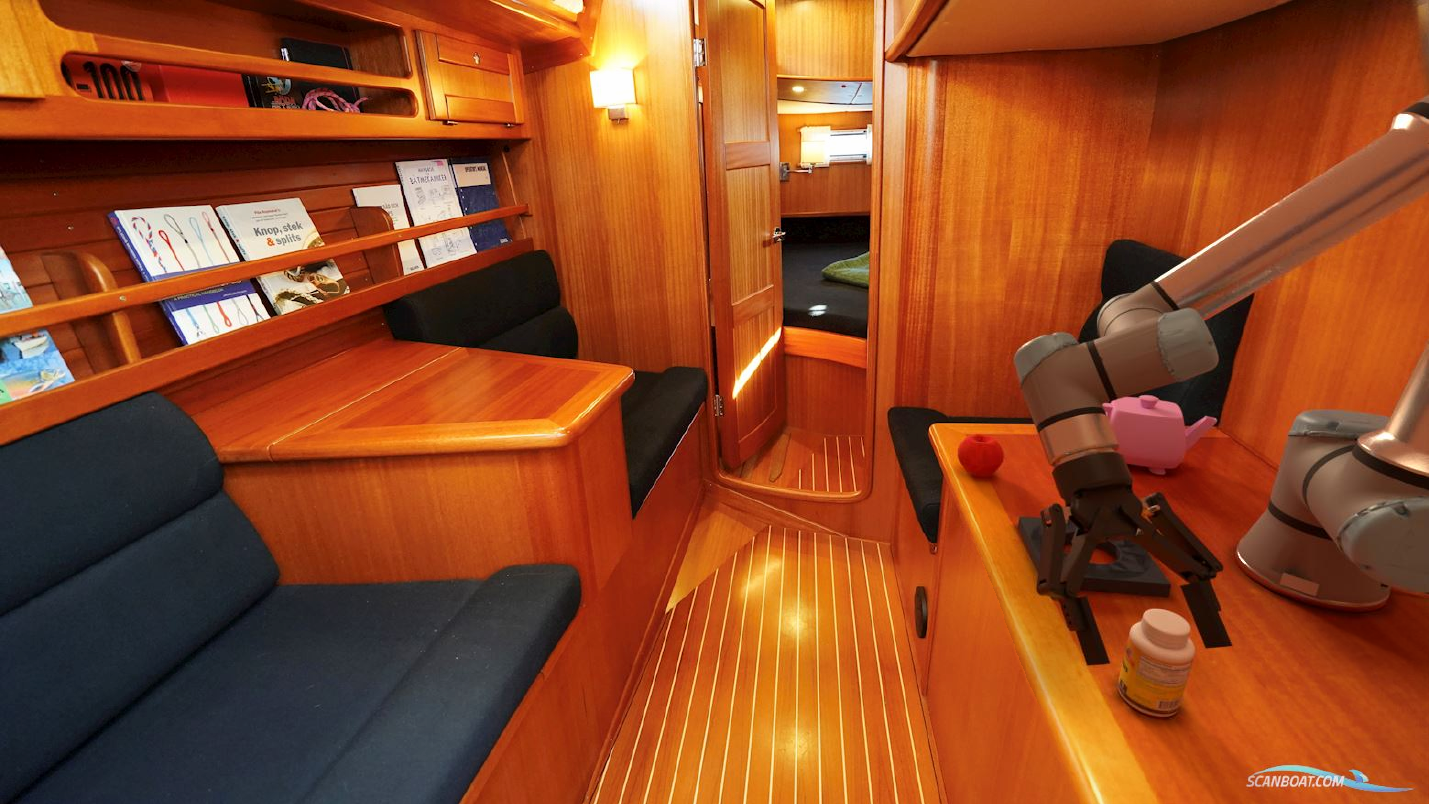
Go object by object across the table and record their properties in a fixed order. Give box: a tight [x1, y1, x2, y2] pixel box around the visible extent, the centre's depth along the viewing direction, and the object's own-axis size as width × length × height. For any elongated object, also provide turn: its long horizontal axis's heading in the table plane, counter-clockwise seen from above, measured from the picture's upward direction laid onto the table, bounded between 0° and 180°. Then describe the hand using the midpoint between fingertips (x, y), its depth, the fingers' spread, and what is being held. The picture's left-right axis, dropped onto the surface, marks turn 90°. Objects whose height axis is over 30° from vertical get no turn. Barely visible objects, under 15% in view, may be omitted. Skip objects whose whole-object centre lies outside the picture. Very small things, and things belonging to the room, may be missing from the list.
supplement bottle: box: [1117, 608, 1196, 718], centre depth 66 cm, size 6×6×10 cm
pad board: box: [1017, 515, 1172, 598], centre depth 91 cm, size 15×15×2 cm
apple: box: [957, 433, 1005, 478], centre depth 115 cm, size 8×8×7 cm
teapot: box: [1102, 394, 1218, 476], centre depth 116 cm, size 20×12×13 cm, turn 62°
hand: (1159, 656), depth 65 cm, fingers open, 13 cm apart
